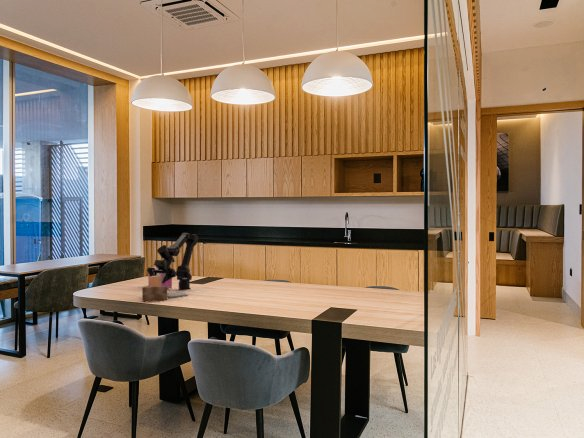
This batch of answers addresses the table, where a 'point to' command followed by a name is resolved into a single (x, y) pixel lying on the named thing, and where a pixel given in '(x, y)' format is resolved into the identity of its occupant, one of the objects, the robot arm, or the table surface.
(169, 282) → the gum box
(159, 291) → the walnut screen
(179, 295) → the grey mat
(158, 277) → the letter block
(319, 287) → the table surface
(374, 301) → the table surface
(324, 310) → the table surface
